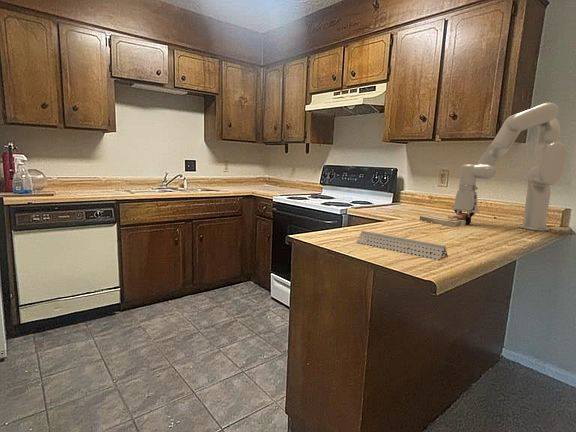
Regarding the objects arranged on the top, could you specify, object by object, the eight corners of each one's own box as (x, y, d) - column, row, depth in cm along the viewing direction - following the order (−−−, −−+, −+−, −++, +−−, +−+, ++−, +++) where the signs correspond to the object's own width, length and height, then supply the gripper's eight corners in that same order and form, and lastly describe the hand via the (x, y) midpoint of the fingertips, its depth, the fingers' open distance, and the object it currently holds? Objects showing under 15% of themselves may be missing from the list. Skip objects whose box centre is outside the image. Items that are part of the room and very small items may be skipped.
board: (431, 219, 197) (431, 215, 197) (465, 225, 180) (465, 220, 180) (419, 220, 192) (420, 216, 191) (453, 226, 175) (454, 221, 175)
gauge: (462, 222, 188) (463, 212, 187) (469, 224, 184) (470, 213, 184) (445, 224, 180) (445, 214, 179) (452, 226, 177) (453, 215, 176)
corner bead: (354, 245, 132) (355, 231, 132) (367, 241, 139) (368, 229, 138) (438, 263, 111) (439, 247, 110) (448, 258, 117) (450, 243, 117)
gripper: (487, 189, 177) (483, 225, 180) (456, 187, 191) (453, 220, 194) (478, 189, 173) (474, 226, 176) (447, 187, 187) (444, 221, 190)
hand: (463, 223), depth 185 cm, fingers closed on gauge, 4 cm apart
